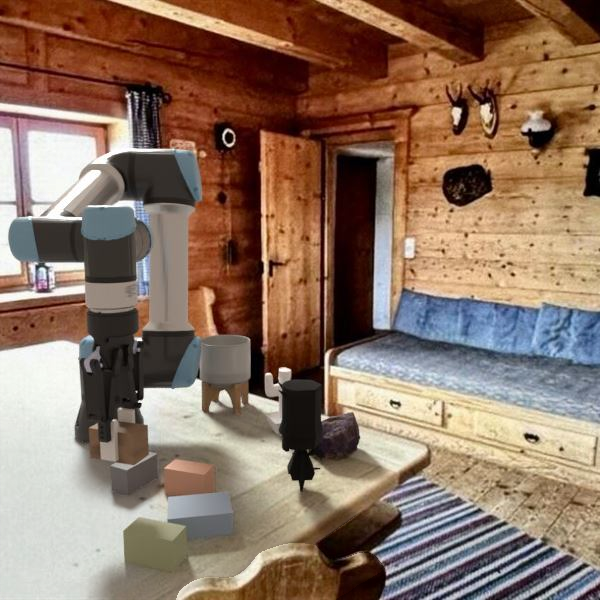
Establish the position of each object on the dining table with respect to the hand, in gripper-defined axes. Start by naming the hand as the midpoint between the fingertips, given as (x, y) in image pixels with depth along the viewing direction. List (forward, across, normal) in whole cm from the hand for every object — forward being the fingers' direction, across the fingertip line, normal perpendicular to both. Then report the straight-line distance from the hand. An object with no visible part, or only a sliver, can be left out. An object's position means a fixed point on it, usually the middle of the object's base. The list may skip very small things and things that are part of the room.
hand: (118, 453), depth 90 cm
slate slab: (+13, +4, -12) cm, 18 cm away
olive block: (+13, -6, -10) cm, 17 cm away
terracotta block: (+13, +13, -5) cm, 19 cm away
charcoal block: (+13, +13, +6) cm, 19 cm away
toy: (+13, +21, -24) cm, 34 cm away
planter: (+13, +57, +8) cm, 59 cm away
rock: (+13, +37, -27) cm, 48 cm away
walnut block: (+1, 0, 0) cm, 1 cm away
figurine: (+13, +46, -12) cm, 49 cm away
